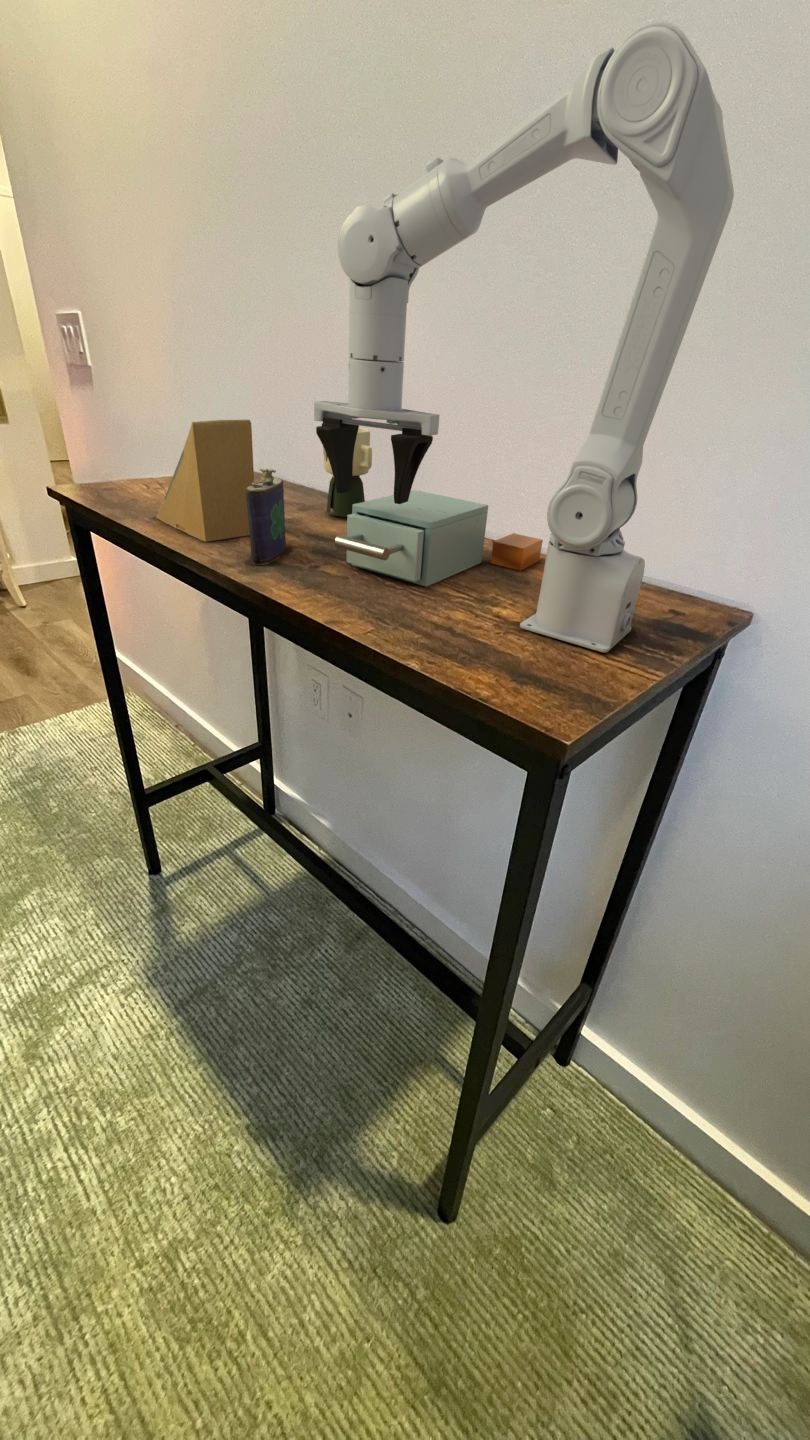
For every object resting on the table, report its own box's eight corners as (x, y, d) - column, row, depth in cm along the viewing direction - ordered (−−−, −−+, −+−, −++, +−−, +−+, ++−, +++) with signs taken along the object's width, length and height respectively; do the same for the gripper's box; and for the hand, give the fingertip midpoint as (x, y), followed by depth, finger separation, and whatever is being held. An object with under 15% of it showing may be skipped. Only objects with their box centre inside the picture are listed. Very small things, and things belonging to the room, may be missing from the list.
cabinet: (426, 587, 76) (431, 522, 72) (351, 565, 81) (352, 504, 77) (481, 562, 85) (488, 504, 82) (411, 545, 91) (414, 489, 87)
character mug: (307, 511, 104) (306, 425, 97) (340, 506, 109) (340, 423, 102) (352, 526, 98) (353, 434, 91) (384, 519, 102) (388, 432, 96)
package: (539, 561, 88) (543, 539, 86) (520, 570, 83) (523, 548, 82) (510, 554, 90) (513, 533, 88) (490, 563, 86) (493, 541, 84)
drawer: (393, 590, 71) (396, 539, 68) (323, 569, 76) (323, 520, 73) (468, 559, 83) (473, 514, 80) (403, 543, 88) (406, 500, 85)
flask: (271, 544, 87) (267, 461, 81) (291, 546, 87) (289, 463, 81) (247, 564, 79) (241, 473, 73) (269, 566, 79) (265, 476, 73)
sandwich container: (206, 511, 100) (196, 406, 93) (259, 533, 91) (252, 419, 83) (154, 517, 95) (138, 407, 87) (204, 542, 86) (191, 421, 78)
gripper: (456, 365, 66) (444, 501, 72) (339, 356, 71) (338, 482, 78) (425, 365, 60) (415, 512, 67) (301, 355, 66) (304, 491, 73)
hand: (372, 497), depth 72 cm, fingers open, 7 cm apart
